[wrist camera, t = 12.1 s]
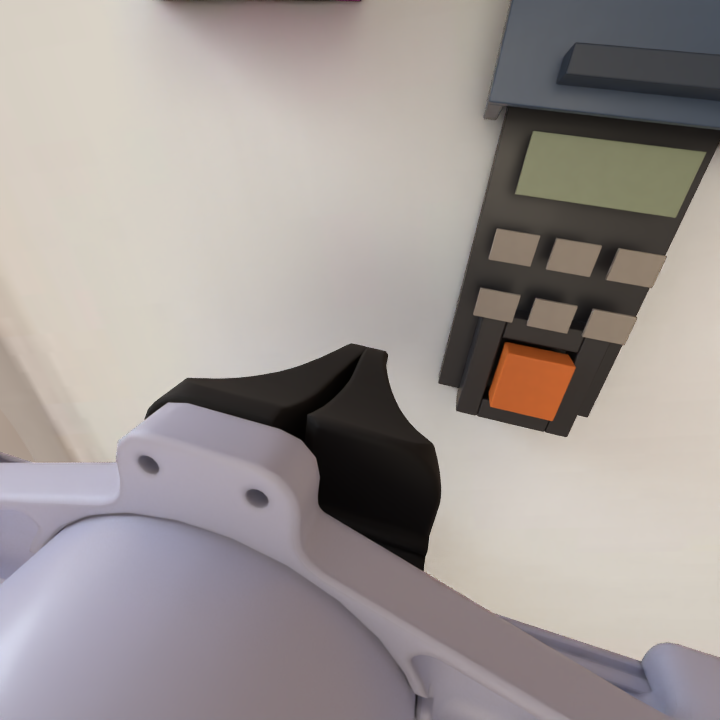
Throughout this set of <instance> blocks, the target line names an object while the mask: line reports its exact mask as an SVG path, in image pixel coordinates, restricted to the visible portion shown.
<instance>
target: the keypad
mask: <svg viewBox="0 0 720 720" xmlns="http://www.w3.org/2000/svg"><path fill="white" fill-rule="evenodd" d="M705 154H706V152H702V151H694V150H686V149H678V148H669V147H661V146H653V145H645V144H637V143H629V142H620V141H612V140H604V139H596V138H588V137H580V136H571V135H563V134H555V133H547V132H539V131H533V132H532V135H531V139H530V142H529V146H528V149H527V153H526V156H525V160H524V163H523V167H522V171H521V174H520V178H519V181H518V185H517V188H516V192H515V194H517V195H524V196H531V197H537V198H544V199H551V200H558V201H564V202H571V203H578V204H585V205H591V206H598V207H605V208H612V209H618V210H625V211H632V212H639V213H645V214H652V215H659V216H666V217H672V218H676V216H677V214H678V212H679V210H680V207H681V205H682V203H683V201H684V199H685V197H686V195H687V193H688V190H689V188H690V186H691V184H692V182H693V180H694V178H695V176H696V173H697V171H698V169H699V167H700V165H701V163H702V161H703V159H704V156H705ZM539 239H540V235H536V234H530V233H523V232H517V231H511V230H505V229H499V228H497V230H496V233H495V237H494V241H493V244H492V248H491V251H490V255H489V260H495V261H500V262H506V263H512V264H518V265H523V266H529V267H530V266H531V263H532V260H533V257H534V254H535V251H536V248H537V245H538V242H539ZM601 248H602V245H597V244H591V243H585V242H579V241H573V240H567V239H560V238H556V240H555V243H554V246H553V248H552V251H551V254H550V257H549V260H548V263H547V266H546V270H552V271H557V272H563V273H569V274H575V275H580V276H586V277H590V275H591V273H592V270H593V268H594V265H595V263H596V260H597V258H598V255H599V253H600V250H601ZM666 258H667V256H665V255H659V254H653V253H647V252H640V251H634V250H628V249H622V248H618V250H617V252H616V254H615V257H614V259H613V262H612V264H611V266H610V269H609V271H608V273H607V276H606V278H605V279H606V280H609V281H615V282H620V283H626V284H632V285H637V286H643V287H649V288H652V287H653V285H654V283H655V280H656V278H657V276H658V274H659V272H660V270H661V268H662V266H663V264H664V262H665V260H666ZM520 297H521V296H520V295H518V294H513V293H508V292H502V291H497V290H492V289H486V288H480V291H479V295H478V299H477V302H476V306H475V309H474V313H473V315H475V316H480V317H485V318H490V319H495V320H500V321H505V322H510V323H512V321H513V318H514V315H515V312H516V309H517V306H518V303H519V300H520ZM577 307H578V306H577V305H572V304H567V303H561V302H556V301H551V300H545V299H540V298H535V301H534V303H533V306H532V309H531V312H530V315H529V318H528V321H527V324H526V325H527V326H531V327H536V328H541V329H546V330H551V331H556V332H561V333H566V334H567V332H568V330H569V327H570V325H571V322H572V320H573V317H574V315H575V312H576V310H577ZM636 320H637V317H636V316H631V315H625V314H620V313H615V312H609V311H604V310H599V309H592V312H591V314H590V316H589V319H588V321H587V323H586V326H585V328H584V331H583V333H582V337H586V338H591V339H596V340H601V341H606V342H611V343H616V344H621V345H625V343H626V341H627V339H628V337H629V334H630V332H631V330H632V328H633V326H634V324H635V322H636Z"/></svg>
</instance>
